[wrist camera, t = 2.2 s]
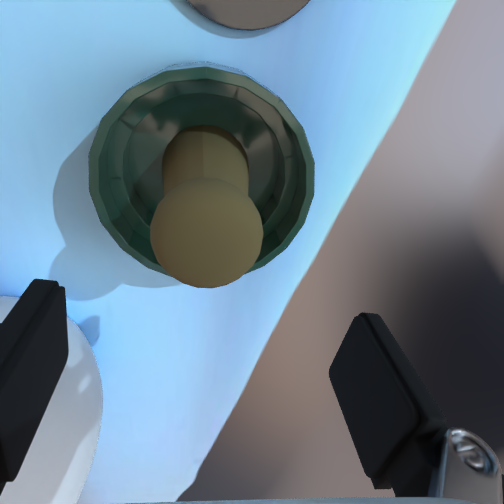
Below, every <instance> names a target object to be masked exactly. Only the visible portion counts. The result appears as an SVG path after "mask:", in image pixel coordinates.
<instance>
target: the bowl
mask: <svg viewBox="0 0 504 504" xmlns="http://www.w3.org/2000/svg"><path fill="white" fill-rule="evenodd" d="M198 125H210V126H217V127H219V128H221V129H223V130H225V131H228V132H230V133H231V134H232V135H233V136H234V137H235V138H236V139H237V140H238V141H239V142H240V143H241V145H242V146H243V148H244V150H245V152H246V154H247V158H248V164H249V185H248V197H249V198H251V200H252V201H253V203H254V205H255V207H256V208H257V210H258V212H259V214H260V217H261V221H262V227H263V233H264V234H263V239H262V245H261V250H260V254H259V256H258V258H257V259H256V261H255V263H254V265H253V266H252V267H251V268H250V269H249V270H248V271H247V272H246V273H249V272H251V271H253V270H256V269H258V268H261V267H263V266H265V265H266V264H267V263H268V262H270V261H271V260H272V259H274V258H275V257H276V256H277V255H279V254H280V253H281V252H283V251H284V250H285V249H286V248H287V247H288V246H289V244H290V243H291V241H292V240H293V239H294V237H295V236H296V235H297V233H298V232H299V230H300V229H301V228H302V226H303V225H304V223H305V220H306V217H307V214H308V211H309V208H310V205H311V202H312V199H313V196H314V169H315V163H314V159H313V155H312V152H311V149H310V146H309V143H308V140H307V137H306V134H305V131H304V129H303V127H302V126H301V124H300V123H299V122H298V120H297V119H296V118H295V116H294V115H293V114H292V112H291V111H290V110H289V108H288V107H287V106H286V104H285V103H284V102H283V101H282V99H280V97H278V96H277V95H276V94H274V93H273V92H272V91H271V90H269V89H268V88H267V87H265V86H264V85H262V84H261V83H259V82H258V81H256V80H255V79H253V78H252V77H250V76H249V75H247V74H246V73H244V72H243V71H241V70H239V69H235V68H231V67H227V66H223V65H219V64H215V63H211V62H195V63H186V64H176V65H172V66H168V67H166V68H164V69H162V70H160V71H158V72H156V73H154V74H152V75H150V76H149V77H147V78H145V79H143V80H141V81H139V82H138V83H137V84H135V85H134V86H132V87H131V88H129V89H128V90H127V91H126V92H125V93H124V94H123V95H122V96H121V98H120V99H119V100H118V101H117V102H116V103H115V104H114V105H113V107H112V108H111V109H110V110H109V111H108V112H107V113H106V114H105V116H104V117H103V118H102V120H101V121H100V124H99V127H98V130H97V132H96V135H95V138H94V141H93V144H92V146H91V149H90V152H89V190H90V191H89V192H90V195H91V197H92V200H93V203H94V205H95V208H96V211H97V213H98V216H99V219H100V222H101V223H102V225H103V226H104V227H105V228H106V230H107V231H108V232H109V234H110V235H111V236H112V237H113V239H114V240H115V241H116V243H117V244H118V245H119V246H120V248H121V249H122V250H124V251H125V252H126V253H128V254H129V255H131V256H132V257H133V258H135V259H136V260H138V261H139V262H140V263H142V264H143V265H144V266H146V267H148V268H150V269H152V270H155V271H158V272H160V273H163V274H165V275H168V276H171V275H169V274H168V273H167V272H166V271H165V270H164V268H163V267H162V266H161V265H160V264H159V263H158V261H157V259H156V256H155V254H154V251H153V249H152V245H151V241H150V225H151V222H152V219H153V216H154V213H155V211H156V208H157V205H158V204H159V203H160V201H161V200H162V199H163V198H164V187H163V177H162V158H163V155H164V152H165V149H166V147H167V145H168V144H169V142H170V141H171V140H172V139H173V138H174V136H175V135H176V134H178V133H180V132H181V131H183V130H185V129H186V128H188V127H193V126H198ZM246 273H245V274H246ZM171 277H172V276H171ZM173 278H174V277H173Z"/></svg>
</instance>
